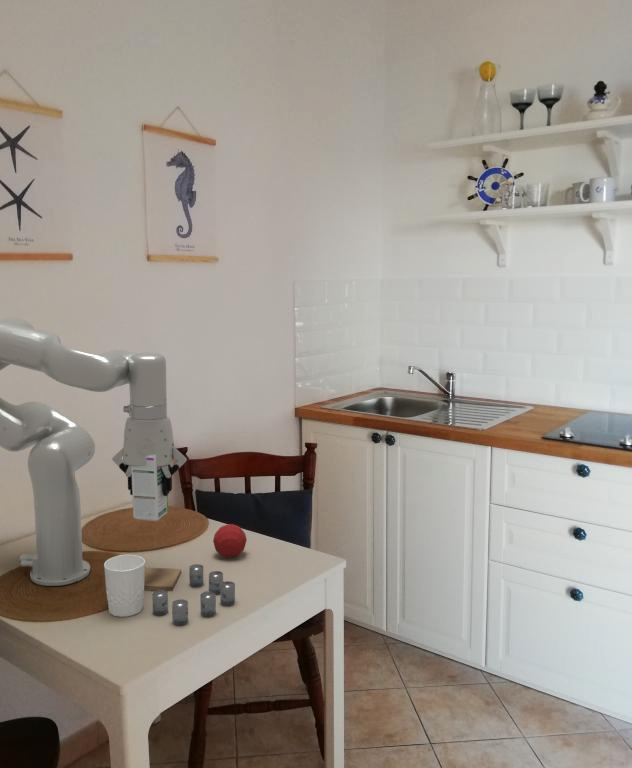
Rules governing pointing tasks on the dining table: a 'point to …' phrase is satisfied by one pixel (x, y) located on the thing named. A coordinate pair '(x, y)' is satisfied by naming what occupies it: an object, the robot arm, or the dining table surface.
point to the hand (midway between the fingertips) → (150, 492)
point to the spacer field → (206, 598)
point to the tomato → (229, 540)
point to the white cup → (125, 584)
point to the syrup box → (148, 491)
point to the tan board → (161, 578)
